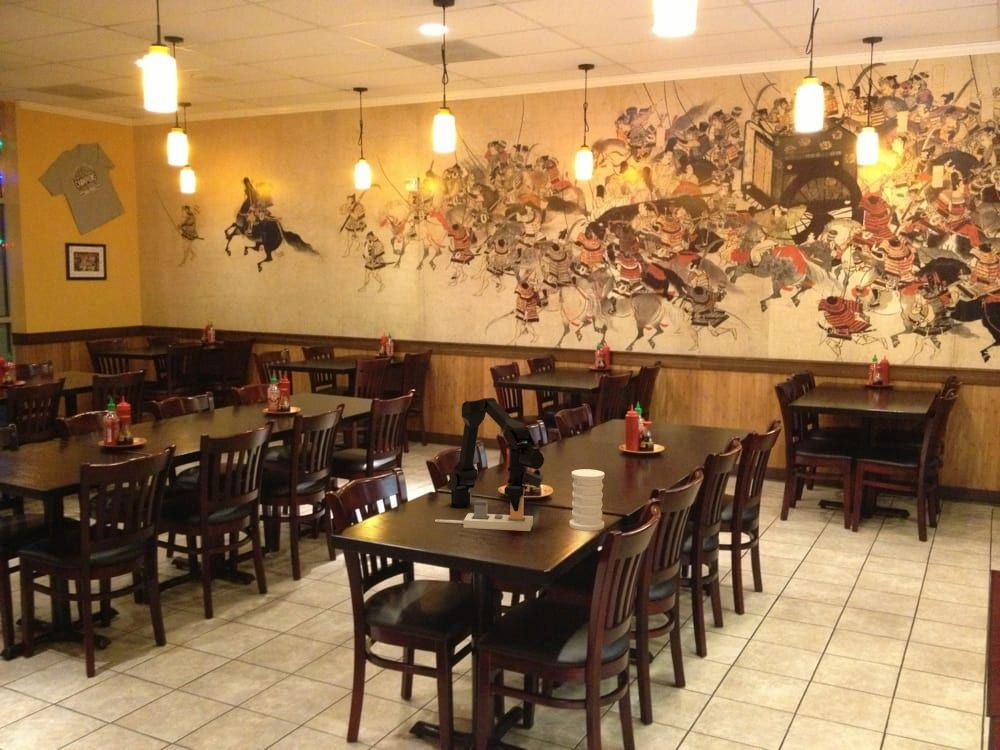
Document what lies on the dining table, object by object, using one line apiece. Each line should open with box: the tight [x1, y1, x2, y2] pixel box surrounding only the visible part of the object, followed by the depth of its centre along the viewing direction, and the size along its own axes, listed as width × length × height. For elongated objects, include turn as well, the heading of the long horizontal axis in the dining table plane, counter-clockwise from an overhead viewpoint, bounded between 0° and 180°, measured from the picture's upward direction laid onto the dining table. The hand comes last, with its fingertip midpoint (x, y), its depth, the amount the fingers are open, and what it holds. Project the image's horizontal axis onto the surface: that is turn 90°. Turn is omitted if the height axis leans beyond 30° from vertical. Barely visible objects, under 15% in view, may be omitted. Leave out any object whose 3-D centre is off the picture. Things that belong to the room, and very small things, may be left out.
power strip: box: [434, 512, 534, 532], centre depth 293 cm, size 32×9×3 cm, turn 82°
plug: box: [509, 494, 525, 519], centre depth 291 cm, size 4×3×8 cm
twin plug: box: [473, 499, 489, 520], centre depth 293 cm, size 4×3×8 cm
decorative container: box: [568, 468, 605, 532], centre depth 293 cm, size 12×12×18 cm
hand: (516, 510), depth 291 cm, fingers closed on plug, 3 cm apart
